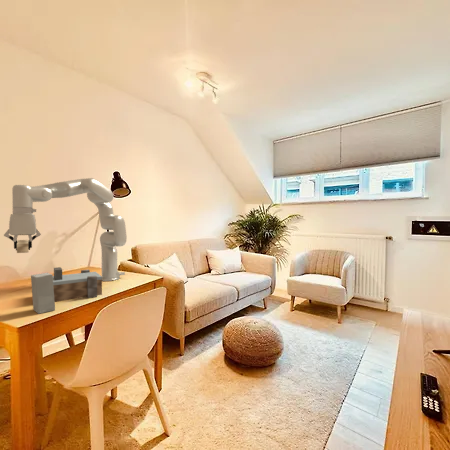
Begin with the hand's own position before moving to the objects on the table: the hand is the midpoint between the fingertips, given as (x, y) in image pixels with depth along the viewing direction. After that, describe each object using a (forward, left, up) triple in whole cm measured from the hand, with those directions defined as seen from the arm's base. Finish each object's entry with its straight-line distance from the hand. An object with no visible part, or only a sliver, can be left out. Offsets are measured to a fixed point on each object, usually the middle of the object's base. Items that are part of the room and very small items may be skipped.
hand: (23, 249), depth 124 cm
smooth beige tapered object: (0, 0, 0) cm, 0 cm away
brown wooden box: (-20, 0, -25) cm, 32 cm away
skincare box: (-7, +19, -25) cm, 32 cm away
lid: (-20, 0, -17) cm, 26 cm away
